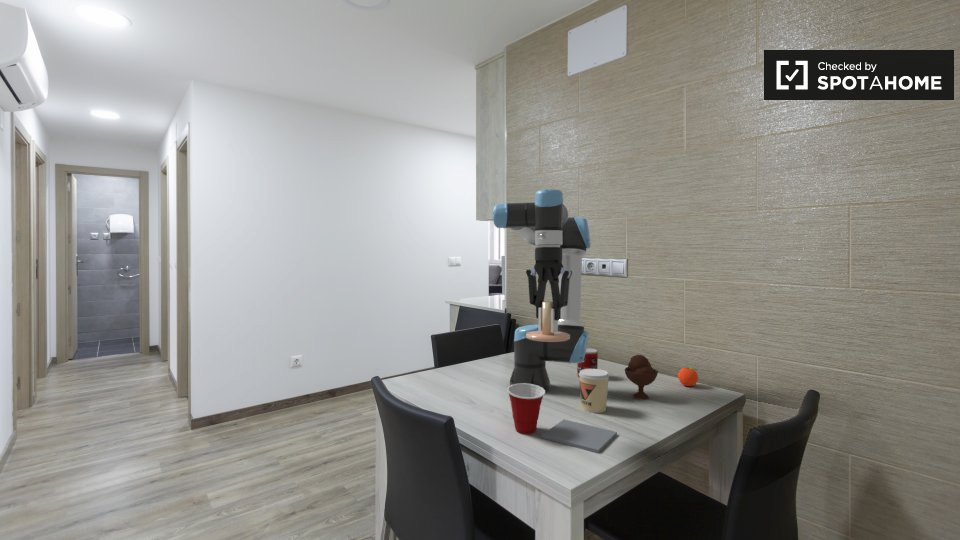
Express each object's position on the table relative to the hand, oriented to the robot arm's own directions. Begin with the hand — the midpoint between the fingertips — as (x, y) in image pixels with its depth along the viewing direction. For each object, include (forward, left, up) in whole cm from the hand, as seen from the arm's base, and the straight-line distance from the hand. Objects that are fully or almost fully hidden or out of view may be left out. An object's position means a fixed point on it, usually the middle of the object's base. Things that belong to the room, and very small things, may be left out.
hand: (548, 331), depth 124 cm
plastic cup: (-6, -2, -29) cm, 30 cm away
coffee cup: (+3, +26, -29) cm, 39 cm away
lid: (0, 0, -2) cm, 2 cm away
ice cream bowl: (+12, +47, -29) cm, 57 cm away
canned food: (-13, +60, -29) cm, 68 cm away
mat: (+8, +3, -29) cm, 30 cm away
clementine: (+23, +71, -29) cm, 80 cm away
